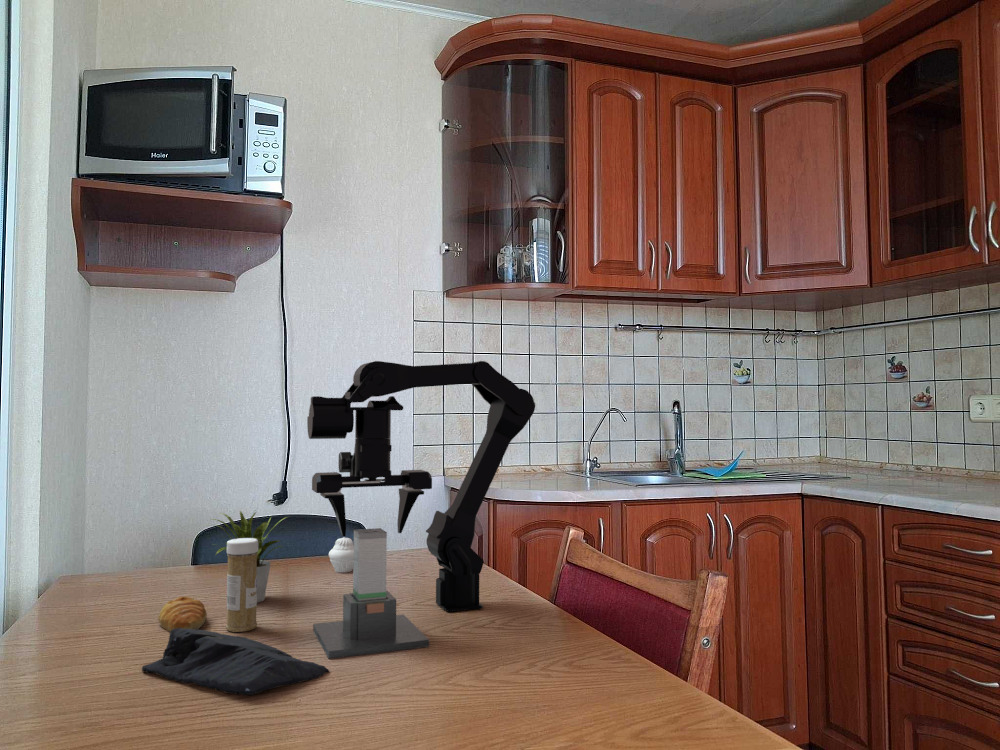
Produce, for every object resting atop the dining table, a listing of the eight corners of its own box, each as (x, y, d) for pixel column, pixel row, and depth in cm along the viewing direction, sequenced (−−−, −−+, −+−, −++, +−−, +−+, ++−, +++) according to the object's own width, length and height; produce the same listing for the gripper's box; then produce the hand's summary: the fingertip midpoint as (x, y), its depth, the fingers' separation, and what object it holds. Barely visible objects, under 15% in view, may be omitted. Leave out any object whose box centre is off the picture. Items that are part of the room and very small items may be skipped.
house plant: (179, 605, 129) (181, 508, 130) (236, 587, 142) (237, 499, 142) (246, 614, 124) (248, 513, 124) (299, 594, 136) (300, 503, 137)
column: (379, 595, 114) (380, 528, 114) (386, 601, 110) (386, 532, 110) (353, 597, 112) (353, 529, 113) (358, 604, 109) (359, 534, 109)
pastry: (212, 631, 115) (213, 605, 115) (164, 638, 111) (164, 612, 112) (201, 616, 123) (201, 592, 123) (155, 623, 119) (156, 598, 120)
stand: (403, 620, 120) (403, 582, 120) (429, 646, 107) (429, 603, 107) (313, 630, 115) (313, 590, 115) (328, 659, 102) (329, 613, 102)
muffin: (355, 574, 153) (355, 539, 153) (325, 574, 153) (325, 539, 154) (361, 567, 159) (361, 534, 160) (332, 567, 159) (332, 534, 160)
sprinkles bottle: (260, 629, 115) (262, 540, 116) (229, 634, 112) (231, 543, 113) (252, 622, 119) (253, 536, 119) (222, 627, 116) (223, 538, 117)
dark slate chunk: (234, 714, 85) (234, 671, 85) (132, 673, 98) (133, 635, 98) (339, 676, 97) (339, 638, 97) (236, 643, 110) (237, 610, 110)
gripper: (414, 435, 135) (414, 524, 135) (307, 437, 128) (306, 530, 128) (433, 438, 125) (432, 534, 124) (317, 439, 118) (316, 541, 117)
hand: (372, 534), depth 124 cm, fingers open, 9 cm apart
